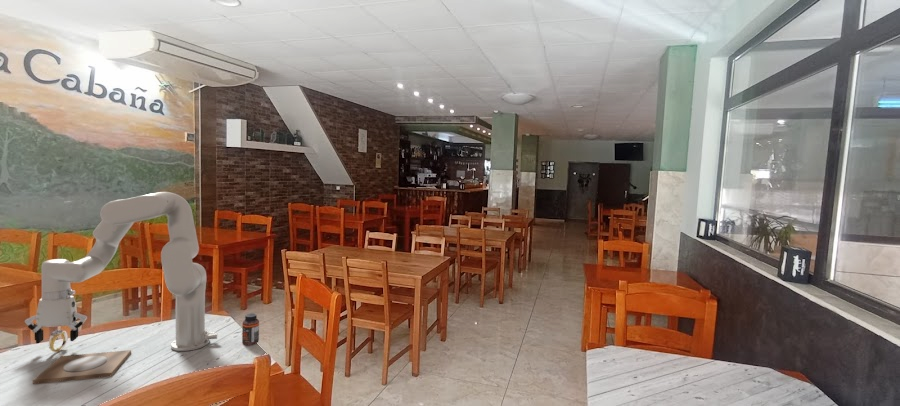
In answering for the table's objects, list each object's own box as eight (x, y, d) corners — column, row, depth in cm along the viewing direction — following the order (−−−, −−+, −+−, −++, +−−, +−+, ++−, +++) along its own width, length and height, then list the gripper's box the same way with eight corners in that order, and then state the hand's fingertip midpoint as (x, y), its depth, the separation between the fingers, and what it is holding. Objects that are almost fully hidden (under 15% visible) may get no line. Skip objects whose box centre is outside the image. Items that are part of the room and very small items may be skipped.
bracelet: (54, 355, 148) (53, 333, 147) (45, 355, 147) (44, 333, 147) (71, 347, 155) (71, 326, 154) (62, 347, 154) (62, 325, 154)
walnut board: (131, 353, 152) (131, 349, 152) (111, 376, 136) (111, 371, 136) (61, 359, 145) (61, 355, 145) (32, 384, 129) (32, 379, 129)
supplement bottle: (238, 343, 164) (238, 315, 163) (251, 338, 170) (251, 311, 169) (250, 347, 162) (250, 318, 161) (262, 341, 168) (262, 313, 167)
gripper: (91, 290, 156) (91, 334, 157) (31, 292, 150) (32, 338, 151) (81, 296, 149) (81, 343, 150) (18, 298, 143) (19, 347, 144)
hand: (56, 340), depth 151 cm, fingers open, 9 cm apart
